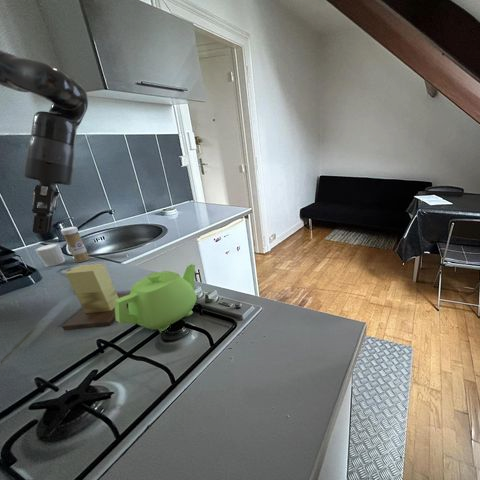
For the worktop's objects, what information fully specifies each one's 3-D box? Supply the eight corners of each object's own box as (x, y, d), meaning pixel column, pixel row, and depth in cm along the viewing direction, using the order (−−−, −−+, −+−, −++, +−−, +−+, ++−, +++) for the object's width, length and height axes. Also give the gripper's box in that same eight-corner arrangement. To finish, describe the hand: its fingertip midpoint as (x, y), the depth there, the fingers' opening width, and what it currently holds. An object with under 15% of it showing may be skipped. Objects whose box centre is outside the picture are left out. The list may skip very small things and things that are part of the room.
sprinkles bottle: (83, 262, 100) (68, 230, 95) (72, 263, 101) (56, 230, 95) (93, 257, 104) (79, 225, 99) (82, 257, 105) (68, 226, 100)
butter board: (63, 330, 64) (50, 305, 61) (100, 298, 76) (91, 277, 73) (110, 325, 65) (98, 301, 62) (139, 295, 77) (131, 274, 74)
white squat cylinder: (57, 259, 105) (49, 243, 102) (71, 259, 104) (64, 243, 101) (38, 267, 99) (29, 250, 96) (53, 267, 98) (44, 250, 95)
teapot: (187, 290, 77) (176, 252, 73) (218, 302, 71) (208, 261, 66) (112, 334, 61) (91, 288, 57) (143, 353, 55) (123, 304, 50)
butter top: (75, 294, 65) (65, 273, 63) (87, 285, 69) (78, 265, 67) (102, 291, 66) (92, 270, 63) (112, 283, 69) (104, 263, 67)
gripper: (31, 159, 62) (23, 226, 63) (20, 152, 52) (10, 232, 52) (74, 168, 67) (66, 229, 68) (72, 163, 57) (63, 236, 57)
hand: (42, 231), depth 60 cm, fingers open, 8 cm apart
